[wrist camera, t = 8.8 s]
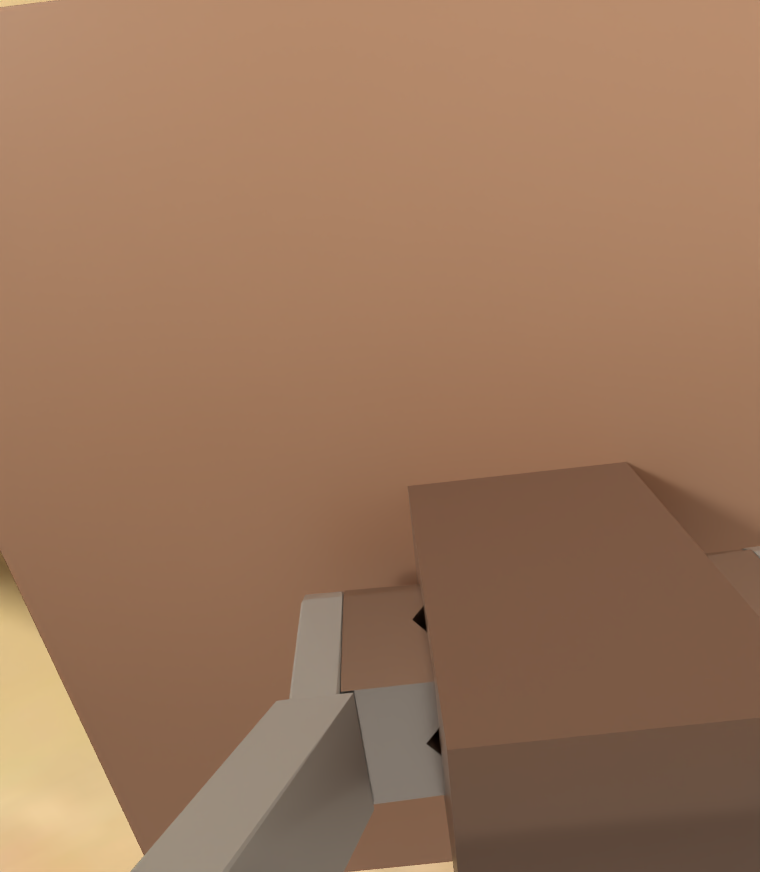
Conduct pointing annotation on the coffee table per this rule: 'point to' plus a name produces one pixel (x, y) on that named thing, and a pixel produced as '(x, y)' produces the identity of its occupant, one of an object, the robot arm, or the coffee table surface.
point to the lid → (397, 395)
